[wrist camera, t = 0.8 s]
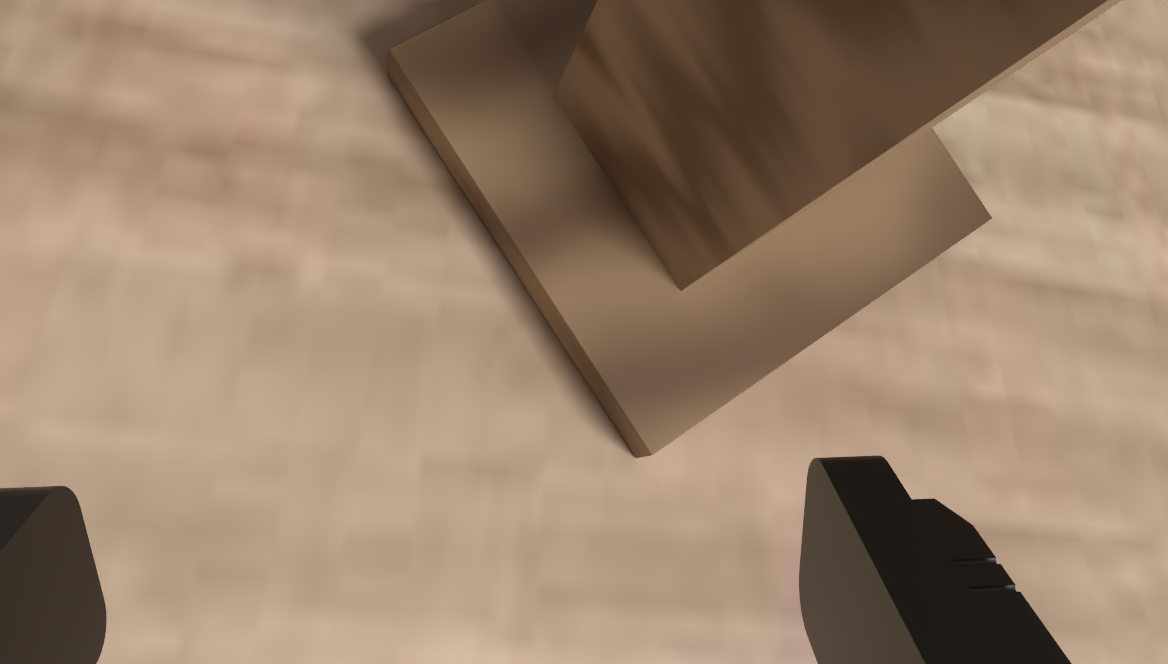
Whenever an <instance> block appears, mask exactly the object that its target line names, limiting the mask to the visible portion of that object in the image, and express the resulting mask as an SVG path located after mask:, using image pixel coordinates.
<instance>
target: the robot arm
mask: <svg viewBox="0 0 1168 664" xmlns="http://www.w3.org/2000/svg"><path fill="white" fill-rule="evenodd" d="M799 593H800V604H801V611H802V617H803V622H804V626H805V630H806V633H807V636H808V638H809V641H810V644H811V646H812V649H813V652H814V654H815V657H816V660H817V662H818V664H1071V663H1070V661H1069V660H1068V658H1067V657H1066V656H1065V654H1064V653H1063V651H1062V650H1061V648H1060V647H1059V646H1058V644H1057V643H1056V641H1055V640H1054V639H1053V637H1052V636H1051V634H1050V633H1049V632H1048V630H1047V629H1046V627H1045V626H1044V625H1043V623H1042V622H1041V620H1040V619H1039V618H1038V616H1037V615H1036V613H1035V612H1034V611H1033V609H1032V608H1031V606H1030V605H1029V603H1028V602H1027V601H1026V599H1025V598H1024V596H1023V595H1022V594H1021V592H1016V590H1015V584H1014V582H1013V581H1012V580H1011V578H1010V577H1009V575H1008V574H1007V573H1006V571H1005V570H1004V568H1003V567H1002V565H1001V564H997V563H996V557H995V556H994V554H993V553H992V551H991V550H990V549H989V547H988V546H987V544H986V543H985V542H984V540H983V539H982V537H981V536H980V535H979V533H978V532H977V530H976V529H975V528H974V526H973V525H972V524H970V523H969V522H967V521H966V520H964V519H963V518H962V517H960V516H959V515H957V514H956V513H954V512H953V511H952V510H950V509H949V508H947V507H946V506H944V505H943V504H941V503H940V502H939V501H937V500H936V499H914V500H912V499H911V498H910V496H909V495H908V493H907V492H906V490H905V489H904V487H903V485H902V484H901V482H900V481H899V479H898V478H897V476H896V474H895V473H894V471H893V470H892V468H891V467H890V465H889V463H888V462H887V461H886V459H885V458H884V457H882V456H857V457H832V458H815V459H813V460H812V461H811V463H810V466H809V469H808V475H807V485H806V497H805V509H804V522H803V534H802V546H801V558H800V571H799ZM105 632H106V607H105V601H104V597H103V593H102V589H101V585H100V581H99V578H98V574H97V570H96V566H95V562H94V558H93V554H92V551H91V547H90V543H89V539H88V535H87V531H86V527H85V523H84V520H83V516H82V512H81V508H80V505H79V502H78V500H77V497H76V496H75V494H74V493H73V491H71V490H70V489H69V488H67V487H65V486H49V487H24V488H0V664H96V663H97V661H98V659H99V657H100V654H101V651H102V647H103V644H104V639H105Z"/></svg>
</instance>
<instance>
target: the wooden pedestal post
mask: <svg viewBox="0 0 1168 664" xmlns="http://www.w3.org/2000/svg"><path fill="white" fill-rule="evenodd" d="M1120 1H1122V0H486V1H484V2H482V3H480V4H478V5H476V6H474V7H472V8H470V9H468V10H466V11H464V12H462V13H460V14H458V15H456V16H454V17H452V18H450V19H448V20H446V21H444V22H442V23H440V24H438V25H436V26H434V27H432V28H430V29H428V30H426V31H424V32H422V33H420V34H418V35H416V36H414V37H412V38H410V39H408V40H406V41H404V42H402V43H401V44H399V45H397V46H395V47H393V48H391V49H389V59H388V76H389V78H390V79H391V81H392V82H393V84H394V86H395V87H396V89H397V90H398V92H399V93H400V95H401V96H402V98H403V99H404V101H405V103H406V104H407V106H408V107H409V109H410V110H411V112H412V113H413V115H414V116H415V118H416V120H417V121H418V123H419V124H420V126H421V127H422V129H423V130H424V132H425V133H426V135H427V137H428V138H429V140H430V141H431V143H432V144H433V146H434V147H435V149H436V150H437V152H438V153H439V155H440V157H441V158H442V160H443V161H444V163H445V164H446V166H447V167H448V169H449V170H450V172H451V174H452V175H453V177H454V178H455V180H456V181H457V183H458V184H459V186H460V187H461V189H462V191H463V192H464V194H465V195H466V197H467V198H468V200H469V201H470V203H471V204H472V206H473V207H474V209H475V211H476V212H477V214H478V215H479V217H480V218H481V220H482V221H483V223H484V224H485V226H486V228H487V229H488V231H489V232H490V234H491V235H492V237H493V238H494V240H495V241H496V243H497V245H498V246H499V248H500V249H501V251H502V252H503V254H504V255H505V257H506V258H507V260H508V262H509V263H510V265H511V266H512V268H513V269H514V271H515V272H516V274H517V275H518V277H519V278H520V280H521V282H522V283H523V285H524V286H525V288H526V289H527V291H528V292H529V294H530V295H531V297H532V299H533V300H534V302H535V303H536V305H537V306H538V308H539V309H540V311H541V312H542V314H543V316H544V317H545V319H546V320H547V322H548V323H549V325H550V326H551V328H552V329H553V331H554V332H555V334H556V336H557V337H558V339H559V340H560V342H561V343H562V345H563V346H564V348H565V349H566V351H567V353H568V354H569V356H570V357H571V359H572V360H573V362H574V363H575V365H576V366H577V368H578V370H579V371H580V373H581V374H582V376H583V377H584V379H585V380H586V382H587V383H588V385H589V387H590V388H591V390H592V391H593V393H594V394H595V396H596V397H597V399H598V400H599V402H600V403H601V405H602V407H603V408H604V410H605V411H606V413H607V414H608V416H609V417H610V419H611V420H612V422H613V424H614V425H615V427H616V428H617V430H618V431H619V433H620V434H621V436H622V437H623V439H624V441H625V442H626V444H627V445H628V447H629V448H630V450H631V451H632V453H633V454H634V456H635V458H639V457H644V456H650V455H653V454H654V453H656V452H657V451H659V450H660V449H662V448H663V447H664V446H666V445H667V444H669V443H670V442H672V441H673V440H674V439H676V438H677V437H679V436H680V435H682V434H683V433H685V432H686V431H687V430H689V429H690V428H692V427H693V426H695V425H696V424H697V423H699V422H700V421H702V420H703V419H705V418H706V417H707V416H709V415H710V414H712V413H713V412H715V411H716V410H718V409H719V408H720V407H722V406H723V405H725V404H726V403H728V402H729V401H730V400H732V399H733V398H735V397H736V396H738V395H739V394H740V393H742V392H743V391H745V390H746V389H748V388H749V387H751V386H752V385H753V384H755V383H756V382H758V381H759V380H761V379H762V378H763V377H765V376H766V375H768V374H769V373H771V372H772V371H774V370H775V369H776V368H778V367H779V366H781V365H782V364H784V363H785V362H786V361H788V360H789V359H791V358H792V357H794V356H795V355H796V354H798V353H799V352H801V351H802V350H804V349H805V348H807V347H808V346H809V345H811V344H812V343H814V342H815V341H817V340H818V339H819V338H821V337H822V336H824V335H825V334H827V333H828V332H829V331H831V330H832V329H834V328H835V327H837V326H838V325H840V324H841V323H842V322H844V321H845V320H847V319H848V318H850V317H851V316H852V315H854V314H855V313H857V312H858V311H860V310H861V309H862V308H864V307H865V306H867V305H868V304H870V303H871V302H873V301H874V300H875V299H877V298H878V297H880V296H881V295H883V294H884V293H885V292H887V291H888V290H890V289H891V288H893V287H894V286H895V285H897V284H898V283H900V282H901V281H903V280H904V279H906V278H907V277H908V276H910V275H911V274H913V273H914V272H916V271H917V270H918V269H920V268H921V267H923V266H924V265H926V264H927V263H929V262H930V261H931V260H933V259H934V258H936V257H937V256H939V255H940V254H941V253H943V252H944V251H946V250H947V249H949V248H950V247H951V246H953V245H954V244H956V243H957V242H959V241H960V240H962V239H963V238H964V237H966V236H967V235H969V234H970V233H972V232H973V231H974V230H976V229H977V228H979V227H980V226H982V225H983V224H984V223H986V222H987V221H989V220H990V219H992V217H991V216H990V214H989V213H988V211H987V210H986V208H985V207H984V205H983V204H982V202H981V201H980V199H979V198H978V196H977V195H976V193H975V192H974V190H973V189H972V187H971V186H970V184H969V183H968V181H967V180H966V178H965V177H964V175H963V174H962V172H961V171H960V169H959V168H958V166H957V165H956V163H955V162H954V160H953V159H952V157H951V156H950V154H949V153H948V151H947V150H946V148H945V147H944V145H943V144H942V142H941V141H940V139H939V138H938V136H937V135H936V133H935V132H934V130H933V129H932V127H933V126H935V125H936V124H938V123H939V122H941V121H942V120H944V119H945V118H947V117H948V116H950V115H951V114H953V113H954V112H956V111H957V110H959V109H960V108H962V107H963V106H965V105H966V104H968V103H969V102H971V101H972V100H974V99H975V98H977V97H978V96H980V95H981V94H983V93H984V92H986V91H987V90H989V89H990V88H992V87H993V86H995V85H996V84H998V83H999V82H1001V81H1002V80H1003V79H1005V78H1006V77H1008V76H1009V75H1011V74H1012V73H1014V72H1015V71H1017V70H1018V69H1020V68H1021V67H1023V66H1024V65H1026V64H1027V63H1029V62H1030V61H1032V60H1033V59H1035V58H1036V57H1038V56H1039V55H1041V54H1042V53H1044V52H1045V51H1047V50H1048V49H1050V48H1051V47H1053V46H1054V45H1056V44H1057V43H1059V42H1060V41H1062V40H1063V39H1065V38H1066V37H1068V36H1069V35H1071V34H1072V33H1074V32H1075V31H1077V30H1078V29H1080V28H1081V27H1083V26H1084V25H1086V24H1087V23H1089V22H1090V21H1092V20H1093V19H1095V18H1096V17H1098V16H1099V15H1101V14H1102V13H1104V12H1105V11H1107V10H1108V9H1110V8H1111V7H1113V6H1114V5H1116V4H1117V3H1119V2H1120Z"/></svg>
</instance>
